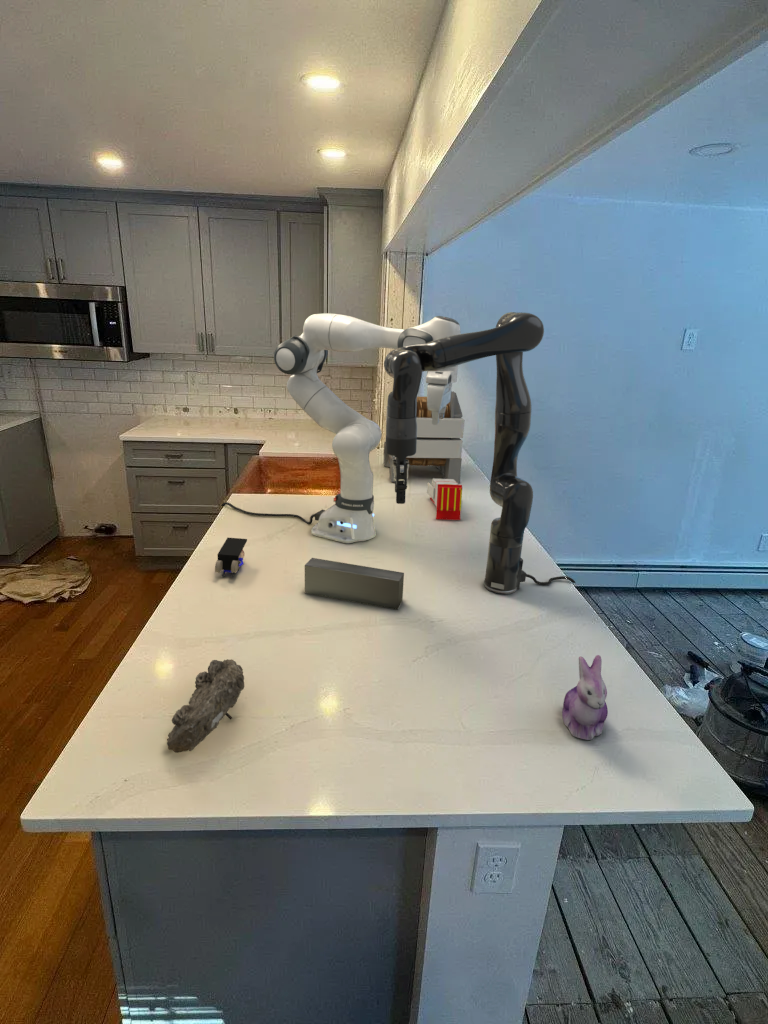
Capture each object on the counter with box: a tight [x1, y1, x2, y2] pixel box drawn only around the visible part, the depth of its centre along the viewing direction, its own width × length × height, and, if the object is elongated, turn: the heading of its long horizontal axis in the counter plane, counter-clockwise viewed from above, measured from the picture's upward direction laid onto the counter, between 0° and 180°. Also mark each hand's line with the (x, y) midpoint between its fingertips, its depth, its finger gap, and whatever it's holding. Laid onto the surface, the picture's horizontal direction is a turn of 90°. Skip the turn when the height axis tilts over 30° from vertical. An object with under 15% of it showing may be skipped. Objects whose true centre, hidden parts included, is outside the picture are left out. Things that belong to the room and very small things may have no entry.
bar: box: [304, 557, 405, 611], centre depth 154 cm, size 26×5×8 cm, turn 74°
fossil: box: [166, 658, 245, 754], centre depth 106 cm, size 22×10×15 cm
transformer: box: [383, 390, 465, 484], centre depth 268 cm, size 34×33×41 cm
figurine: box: [561, 654, 609, 741], centre depth 108 cm, size 9×10×15 cm
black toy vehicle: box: [214, 537, 248, 578], centre depth 166 cm, size 7×8×15 cm
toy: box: [426, 478, 463, 521], centre depth 226 cm, size 12×13×30 cm
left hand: (437, 421), depth 171 cm, fingers open, 8 cm apart
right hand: (399, 497), depth 143 cm, fingers open, 8 cm apart
